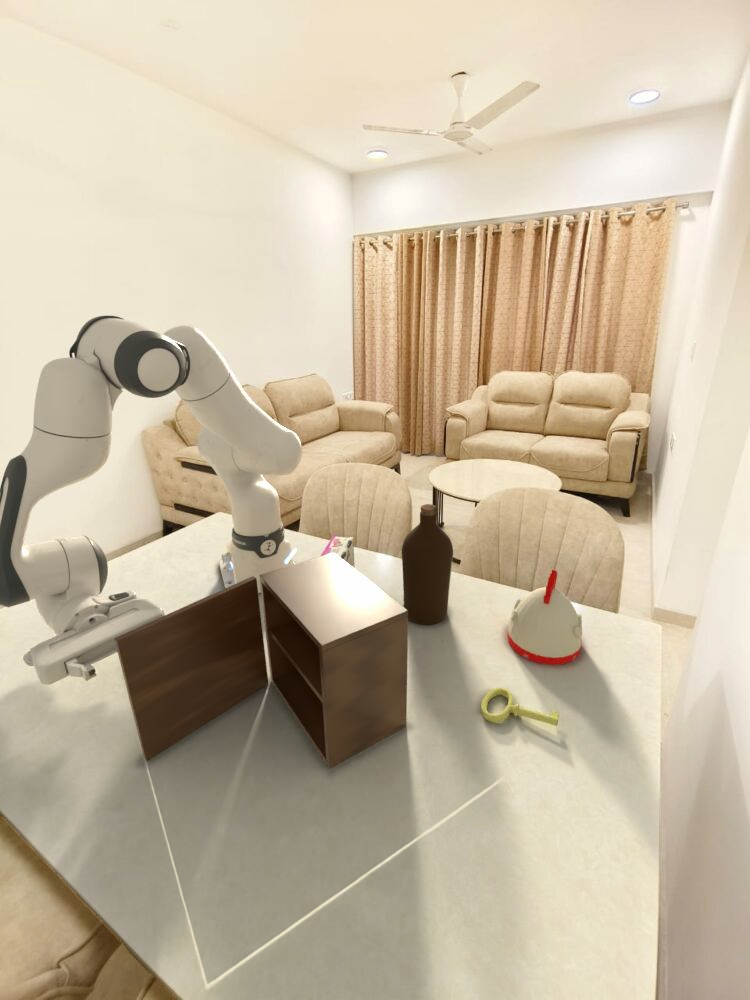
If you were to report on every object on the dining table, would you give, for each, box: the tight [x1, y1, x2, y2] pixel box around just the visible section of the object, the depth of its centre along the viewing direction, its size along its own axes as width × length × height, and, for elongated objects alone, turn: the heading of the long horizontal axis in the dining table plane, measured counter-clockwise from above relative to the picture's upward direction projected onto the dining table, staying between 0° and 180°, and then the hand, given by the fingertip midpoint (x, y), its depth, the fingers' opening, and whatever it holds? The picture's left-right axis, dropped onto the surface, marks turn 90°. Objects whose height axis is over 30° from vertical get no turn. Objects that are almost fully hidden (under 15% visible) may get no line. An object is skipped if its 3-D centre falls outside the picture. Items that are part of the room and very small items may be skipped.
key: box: [480, 687, 560, 727], centre depth 83 cm, size 7×12×2 cm, turn 78°
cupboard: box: [259, 552, 409, 770], centre depth 81 cm, size 14×22×22 cm, turn 33°
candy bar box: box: [320, 535, 356, 569], centre depth 106 cm, size 11×5×16 cm, turn 168°
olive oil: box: [401, 503, 454, 626], centre depth 105 cm, size 11×11×25 cm
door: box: [114, 576, 269, 762], centre depth 80 cm, size 7×22×22 cm, turn 137°
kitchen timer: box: [506, 569, 583, 666], centre depth 97 cm, size 14×14×15 cm
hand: (122, 659), depth 79 cm, fingers open, 8 cm apart
